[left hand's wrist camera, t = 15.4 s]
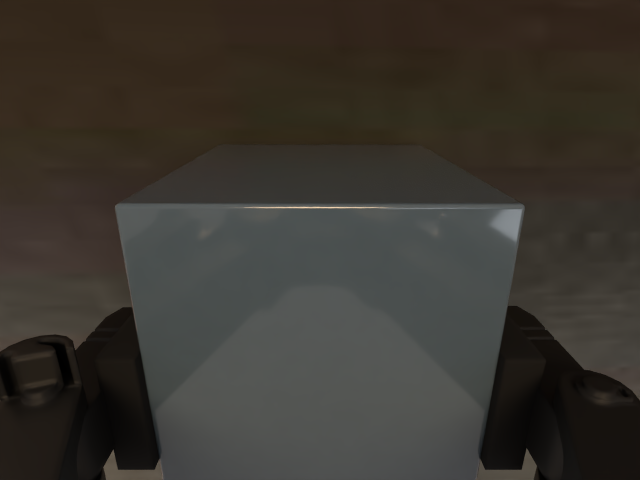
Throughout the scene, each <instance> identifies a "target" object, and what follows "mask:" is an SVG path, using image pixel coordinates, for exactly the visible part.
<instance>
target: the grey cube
mask: <svg viewBox="0 0 640 480" xmlns="http://www.w3.org/2000/svg"><path fill="white" fill-rule="evenodd" d="M524 211H525V207H524V204H522V203H520V202H519V201H517V200H515V199H513V198H512V197H510V196H508V195H507V194H505V193H503V192H501V191H500V190H498V189H496V188H494V187H493V186H491V185H489V184H487V183H486V182H484V181H482V180H480V179H479V178H477V177H475V176H474V175H472V174H470V173H468V172H467V171H465V170H463V169H461V168H460V167H458V166H456V165H454V164H453V163H451V162H449V161H448V160H446V159H444V158H442V157H441V156H439V155H437V154H435V153H434V152H432V151H430V150H428V149H427V148H425V147H423V146H421V145H218V146H216V147H214V148H213V149H211V150H209V151H208V152H206V153H204V154H202V155H201V156H199V157H197V158H195V159H194V160H192V161H190V162H188V163H187V164H185V165H183V166H182V167H180V168H178V169H176V170H175V171H173V172H171V173H169V174H168V175H166V176H164V177H162V178H161V179H159V180H157V181H156V182H154V183H152V184H150V185H149V186H147V187H145V188H143V189H142V190H140V191H138V192H136V193H135V194H133V195H131V196H130V197H128V198H126V199H124V200H123V201H121V202H119V203H117V204H116V206H115V212H116V217H117V223H118V229H119V234H120V240H121V246H122V251H123V257H124V263H125V268H126V274H127V280H128V285H129V291H130V297H131V302H132V308H133V314H134V319H135V325H136V331H137V336H138V342H139V348H140V353H141V359H142V365H143V370H144V376H145V382H146V387H147V393H148V399H149V404H150V410H151V416H152V421H153V427H154V433H155V438H156V444H157V450H158V455H159V461H160V467H161V472H162V478H163V480H477V475H478V470H479V464H480V458H481V453H482V447H483V442H484V436H485V430H486V425H487V419H488V413H489V408H490V402H491V397H492V391H493V385H494V380H495V374H496V368H497V363H498V357H499V352H500V346H501V340H502V335H503V329H504V323H505V318H506V312H507V307H508V301H509V295H510V290H511V284H512V278H513V273H514V267H515V262H516V256H517V250H518V245H519V239H520V233H521V228H522V222H523V217H524Z"/></svg>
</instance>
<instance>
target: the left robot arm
mask: <svg viewBox="0 0 640 480" xmlns="http://www.w3.org/2000/svg"><path fill="white" fill-rule="evenodd" d="M526 448H527V449H528V451H529V453H530V454H531V456H532V458H533V460H534V461H535V463H536V465H537V468H536V473H535V477H534V480H640V400H639V399H638V398H637V397H636V395H635V394H634V393H633V392H632V390H630V389H629V388H627V387H626V386H625V385H623V384H622V383H621V382H619V381H617V380H615V379H613V378H610V377H608V376H606V375H604V374H600V373H597V372H593V371H590V370H584V369H583V368H582V367H581V366H580V365H579V364H578V363H577V362H576V361H575V359H574V358H573V357H572V356H571V355H570V354H569V353H568V352H567V351H566V350H565V349H564V348H563V347H562V346H561V344H560V343H559V342H558V341H557V340H554V337H553V336H552V335H551V334H550V333H549V332H548V331H547V330H545V327H544V326H543V325H542V324H541V323H540V322H539V321H538V320H537V319H536V318H535V317H534V316H533V315H531V314H530V313H528V312H526V311H524V310H523V309H521V308H519V307H518V306H508V307H507V312H506V318H505V323H504V329H503V335H502V340H501V346H500V352H499V357H498V363H497V368H496V374H495V380H494V385H493V391H492V397H491V402H490V408H489V413H488V419H487V425H486V430H485V436H484V442H483V447H482V453H481V458H480V459H481V461H482V463H483V466H484V468H485V470H522V465H523V461H524V457H525V452H526ZM113 449H114V453H115V458H116V462H117V467H118V470H155V467H156V465H157V463H158V460H159V455H158V450H157V444H156V438H155V433H154V427H153V421H152V416H151V410H150V404H149V399H148V393H147V387H146V382H145V376H144V370H143V365H142V359H141V353H140V348H139V342H138V336H137V331H136V325H135V319H134V314H133V308H132V307H123V308H121V309H120V310H118V311H116V312H114V313H113V314H111V315H109V316H108V317H106V318H105V319H104V320H103V321H102V322H101V323H100V324H99V326H98V327H97V328H96V329H95V332H92V333H91V334H90V335H89V336H88V337H87V339H86V342H83V343H82V344H81V345H80V346H79V347H78V348H77V349H76V350H75V348H74V344H73V341H72V340H71V339H69V338H68V337H67V336H61V335H44V336H38V337H34V338H30V339H26V340H23V341H21V342H18V343H16V344H13V345H11V346H9V347H7V348H6V349H4V350H2V351H1V352H0V480H106V477H105V473H104V468H103V466H104V465H105V463H106V461H107V459H108V458H109V456H110V454H111V452H112V451H113Z"/></svg>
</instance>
